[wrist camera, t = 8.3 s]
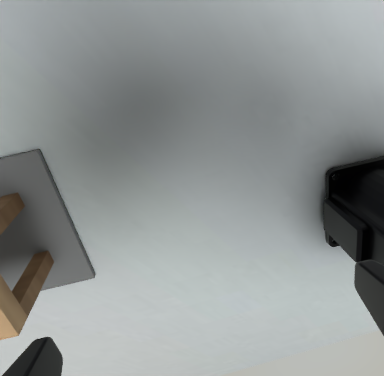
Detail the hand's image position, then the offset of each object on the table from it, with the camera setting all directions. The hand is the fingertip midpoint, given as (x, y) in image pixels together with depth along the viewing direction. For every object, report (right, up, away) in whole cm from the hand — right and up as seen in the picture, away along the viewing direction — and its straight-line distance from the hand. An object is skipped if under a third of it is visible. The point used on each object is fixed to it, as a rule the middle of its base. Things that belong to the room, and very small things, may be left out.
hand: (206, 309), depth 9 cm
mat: (-13, 0, +11) cm, 18 cm away
